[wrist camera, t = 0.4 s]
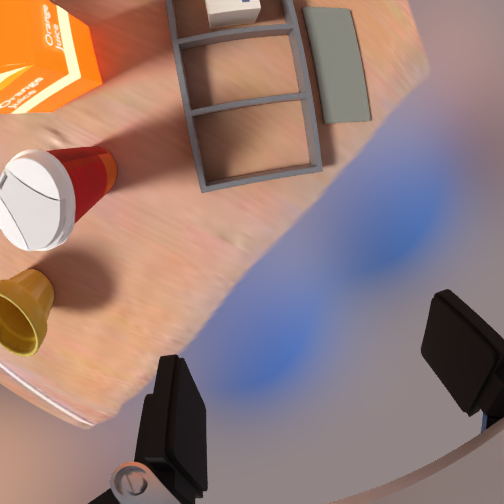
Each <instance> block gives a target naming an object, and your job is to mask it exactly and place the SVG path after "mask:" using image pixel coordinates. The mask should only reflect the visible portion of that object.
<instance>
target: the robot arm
mask: <svg viewBox="0 0 504 504" xmlns="http://www.w3.org/2000/svg"><path fill="white" fill-rule="evenodd" d="M421 354H422V356H423V358H424V359H425V360H426V362H427V363H428V364H429V365H430V367H431V368H432V369H433V371H434V372H435V374H436V375H437V376H438V378H439V379H440V380H441V382H442V383H443V384H444V386H445V387H446V388H447V390H448V391H449V393H450V394H451V396H452V397H453V398H454V400H455V401H456V403H457V404H458V406H459V407H460V408H461V410H462V411H463V412H466V413H467V414H468V416H469V417H470V416H472V415H474V414H475V413H477V412H478V411H479V410H480V409H481V410H482V411H483V418H482V427H481V433H480V434H479V435H478V436H476V437H474V438H473V439H471V440H470V441H468V442H467V443H465V444H463V445H462V446H460V447H458V448H457V449H455V450H453V451H452V452H450V453H448V454H446V455H445V456H443V457H441V458H439V459H437V460H435V461H434V462H432V463H430V464H428V465H426V466H424V467H422V468H420V469H418V470H415V471H413V472H411V473H409V474H407V475H405V476H402V477H400V478H398V479H395V480H393V481H391V482H388V483H386V484H383V485H381V486H378V487H376V488H373V489H370V490H368V491H365V492H362V493H359V494H356V495H353V496H350V497H347V498H344V499H340V500H337V501H333V502H330V503H326V504H504V339H503V338H502V337H501V336H500V335H499V334H498V333H497V332H496V331H495V330H494V329H493V328H492V327H491V326H490V325H488V324H487V323H486V322H485V321H484V320H483V319H482V318H481V317H480V316H479V315H478V314H477V313H476V312H474V311H473V310H472V309H471V308H470V307H469V306H468V305H467V304H466V303H464V302H463V301H462V300H461V299H460V298H459V297H458V296H456V295H455V294H454V293H453V292H452V291H451V290H449V289H446V290H443V291H440V292H438V293H436V294H435V295H434V298H433V299H432V301H431V305H430V311H429V316H428V320H427V325H426V329H425V334H424V338H423V342H422V346H421ZM207 489H208V481H207V444H206V408H205V405H204V402H203V400H202V398H201V396H200V393H199V391H198V389H197V387H196V385H195V382H194V380H193V378H192V376H191V374H190V371H189V369H188V367H187V364H186V362H185V360H184V358H179V357H178V355H176V354H175V355H168V356H161V357H160V359H159V364H158V370H157V375H156V381H155V386H154V392H153V394H147V395H146V397H145V400H144V405H143V410H142V416H141V421H140V427H139V433H138V439H137V446H136V452H135V459H134V462H126V463H123V464H121V465H119V466H118V467H117V468H116V469H115V470H114V471H113V473H112V474H111V477H110V489H108V490H107V491H106V492H104V493H103V494H101V495H100V496H98V497H97V498H96V499H94V500H93V501H91V502H90V503H88V504H195V498H203V491H207Z"/></svg>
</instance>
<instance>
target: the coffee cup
mask: <svg viewBox="0 0 504 504" xmlns="http://www.w3.org/2000/svg"><path fill="white" fill-rule="evenodd" d="M116 177H117V165H116V162H115V159H114V158H113V156H112V155H111V154H110V153H109V152H108V151H107V150H105V149H103V148H100V147H80V148H69V149H60V150H51V151H44V150H40V149H28V150H25V151H22V152H20V153H18V154H17V155H16V156H14V157H13V158H12V159H11V160H10V161H9V163H8V164H7V165H6V167H5V169H4V171H3V172H2V174H1V176H0V229H1V230H2V232H3V233H4V235H5V236H6V237H7V239H8V240H9V241H10V242H11V243H12V244H14V245H15V246H17V247H18V248H20V249H23V250H26V251H33V250H37V251H46V250H50V249H53V248H55V247H56V246H58V245H61V244H63V243H64V242H65V241H66V240H67V239H68V237H69V236H70V234H71V232H72V230H73V227H74V224H75V223H76V222H77V221H78V220H79V219H80V218H81V217H82V216H83V215H84V214H85V213H86V212H87V211H88V210H89V209H90V208H92V207H93V206H94V205H95V204H96V203H97V202H98V201H99V200H100V199H101V198H102V197H103V196H104V195H105V194H106V193H107V192H108V191H109V190H110V189H111V188H112V187H113V185H114V183H115V181H116Z"/></svg>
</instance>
